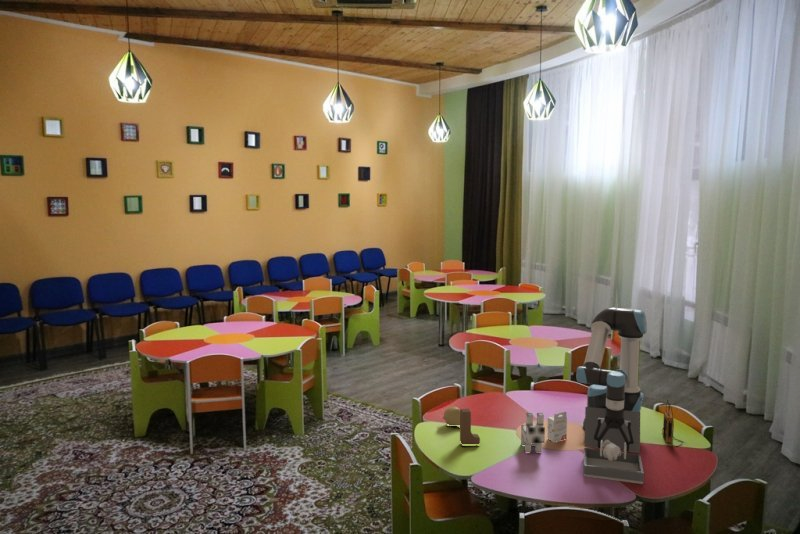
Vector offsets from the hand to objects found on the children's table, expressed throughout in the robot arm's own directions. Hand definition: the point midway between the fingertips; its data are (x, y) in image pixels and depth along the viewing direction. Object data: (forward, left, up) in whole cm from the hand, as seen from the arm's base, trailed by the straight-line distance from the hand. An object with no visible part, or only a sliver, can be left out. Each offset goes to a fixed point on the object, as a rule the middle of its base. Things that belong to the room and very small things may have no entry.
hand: (612, 456), depth 259 cm
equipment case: (0, 0, -7) cm, 7 cm away
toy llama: (-36, +11, -7) cm, 38 cm away
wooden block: (-65, +8, -7) cm, 66 cm away
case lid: (0, +13, +7) cm, 15 cm away
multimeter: (+31, +41, -7) cm, 52 cm away
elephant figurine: (0, 0, -1) cm, 1 cm away
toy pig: (-78, +28, -7) cm, 83 cm away
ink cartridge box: (-25, +26, -7) cm, 37 cm away
